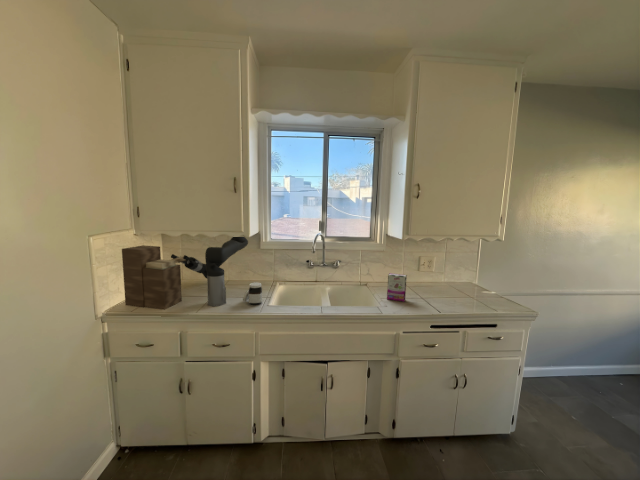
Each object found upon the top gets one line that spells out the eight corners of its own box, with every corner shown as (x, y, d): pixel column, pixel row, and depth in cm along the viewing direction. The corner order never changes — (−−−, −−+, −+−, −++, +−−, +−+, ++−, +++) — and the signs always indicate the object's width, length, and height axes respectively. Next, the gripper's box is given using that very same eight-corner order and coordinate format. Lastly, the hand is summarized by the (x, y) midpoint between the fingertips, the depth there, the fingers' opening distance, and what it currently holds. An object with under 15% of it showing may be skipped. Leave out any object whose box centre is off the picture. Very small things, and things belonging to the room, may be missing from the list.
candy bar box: (405, 299, 170) (407, 274, 168) (404, 302, 166) (406, 276, 163) (387, 297, 174) (389, 272, 172) (386, 299, 170) (388, 274, 168)
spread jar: (261, 306, 153) (261, 286, 151) (241, 306, 151) (241, 286, 150) (262, 298, 165) (262, 280, 163) (244, 299, 163) (243, 280, 161)
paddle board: (177, 259, 168) (177, 255, 167) (191, 260, 166) (191, 256, 165) (146, 267, 144) (145, 262, 144) (161, 268, 142) (161, 264, 142)
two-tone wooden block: (145, 297, 161) (142, 245, 157) (181, 301, 157) (179, 247, 152) (125, 305, 148) (121, 248, 144) (164, 309, 143) (161, 251, 139)
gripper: (186, 258, 178) (169, 249, 163) (205, 259, 175) (190, 251, 161) (182, 269, 175) (165, 261, 161) (201, 270, 173) (186, 262, 158)
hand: (177, 256), depth 161 cm, fingers open, 8 cm apart
